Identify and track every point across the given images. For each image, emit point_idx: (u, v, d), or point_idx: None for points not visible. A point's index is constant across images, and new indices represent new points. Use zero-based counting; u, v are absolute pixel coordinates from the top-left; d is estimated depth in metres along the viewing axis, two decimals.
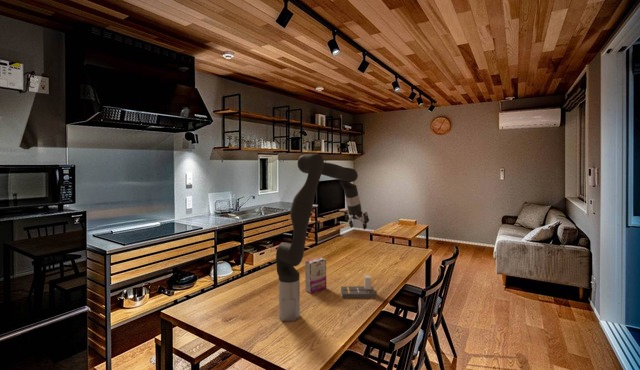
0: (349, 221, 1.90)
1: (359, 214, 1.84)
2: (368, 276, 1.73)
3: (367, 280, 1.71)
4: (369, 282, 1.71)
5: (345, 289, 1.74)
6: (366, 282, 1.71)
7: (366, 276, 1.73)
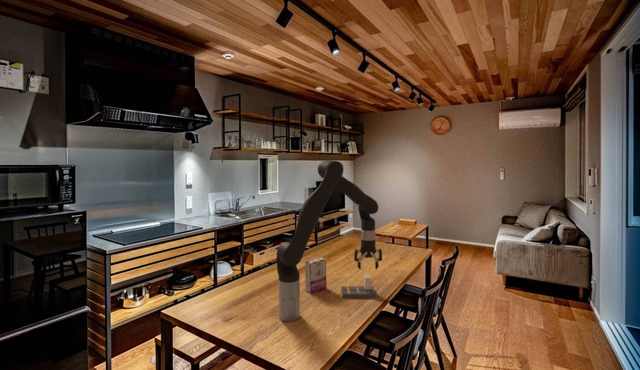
0: (359, 261, 1.71)
1: (374, 251, 1.71)
2: (368, 276, 1.73)
3: (367, 280, 1.71)
4: (369, 282, 1.71)
5: (345, 289, 1.74)
6: (366, 282, 1.71)
7: (366, 276, 1.73)
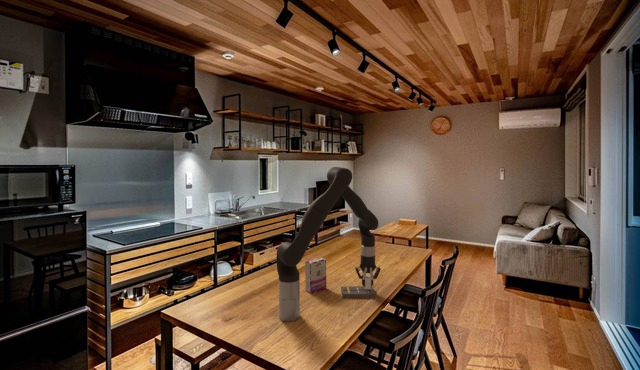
0: (364, 278, 1.72)
1: (374, 266, 1.71)
2: (368, 276, 1.73)
3: (367, 280, 1.71)
4: (369, 282, 1.71)
5: (345, 289, 1.74)
6: (366, 282, 1.71)
7: (366, 276, 1.73)
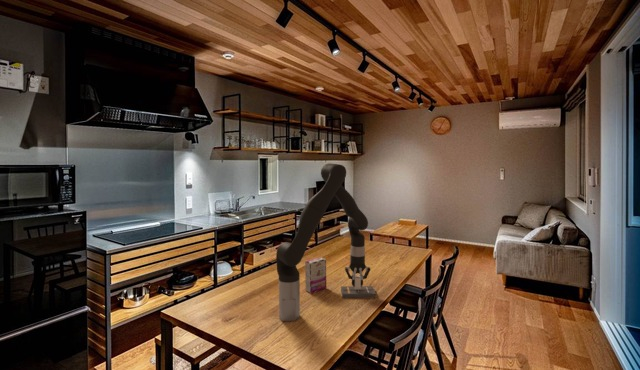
0: (354, 278, 1.72)
1: (363, 267, 1.71)
2: (358, 276, 1.73)
3: (357, 280, 1.71)
4: (359, 282, 1.71)
5: (345, 289, 1.74)
6: (356, 283, 1.71)
7: (356, 276, 1.73)
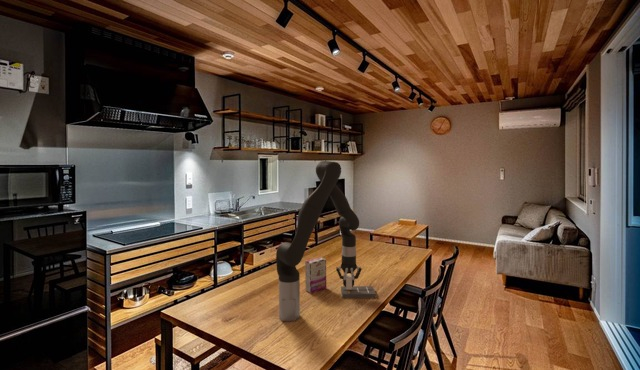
0: (345, 279, 1.72)
1: (355, 267, 1.71)
2: (349, 276, 1.73)
3: (348, 280, 1.71)
4: (350, 282, 1.71)
5: (345, 289, 1.74)
6: (347, 283, 1.71)
7: (347, 276, 1.73)
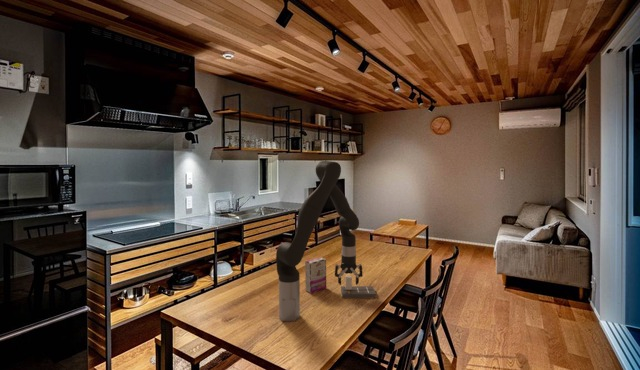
0: (340, 276, 1.71)
1: (354, 266, 1.71)
2: (349, 276, 1.73)
3: (348, 280, 1.71)
4: (350, 282, 1.71)
5: (345, 289, 1.74)
6: (347, 283, 1.71)
7: (347, 276, 1.73)
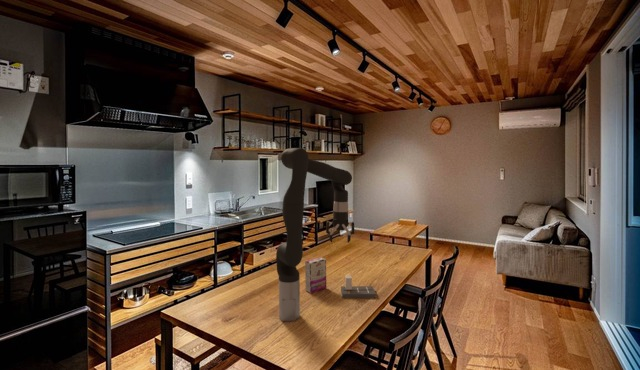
0: (331, 233, 1.67)
1: (346, 223, 1.67)
2: (349, 276, 1.73)
3: (348, 280, 1.71)
4: (350, 282, 1.71)
5: (345, 289, 1.74)
6: (347, 283, 1.71)
7: (347, 276, 1.73)
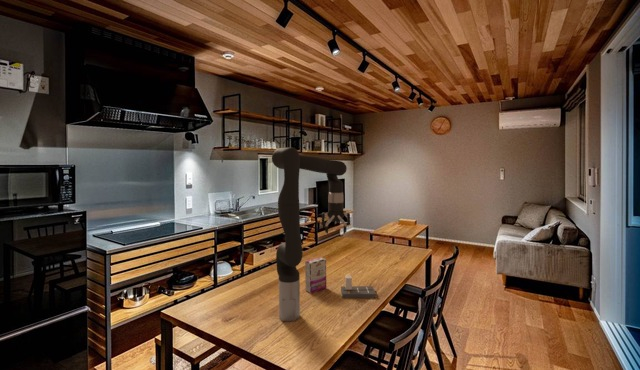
0: (327, 225, 1.65)
1: (342, 214, 1.65)
2: (349, 276, 1.73)
3: (348, 280, 1.71)
4: (350, 282, 1.71)
5: (345, 289, 1.74)
6: (347, 283, 1.71)
7: (347, 276, 1.73)
